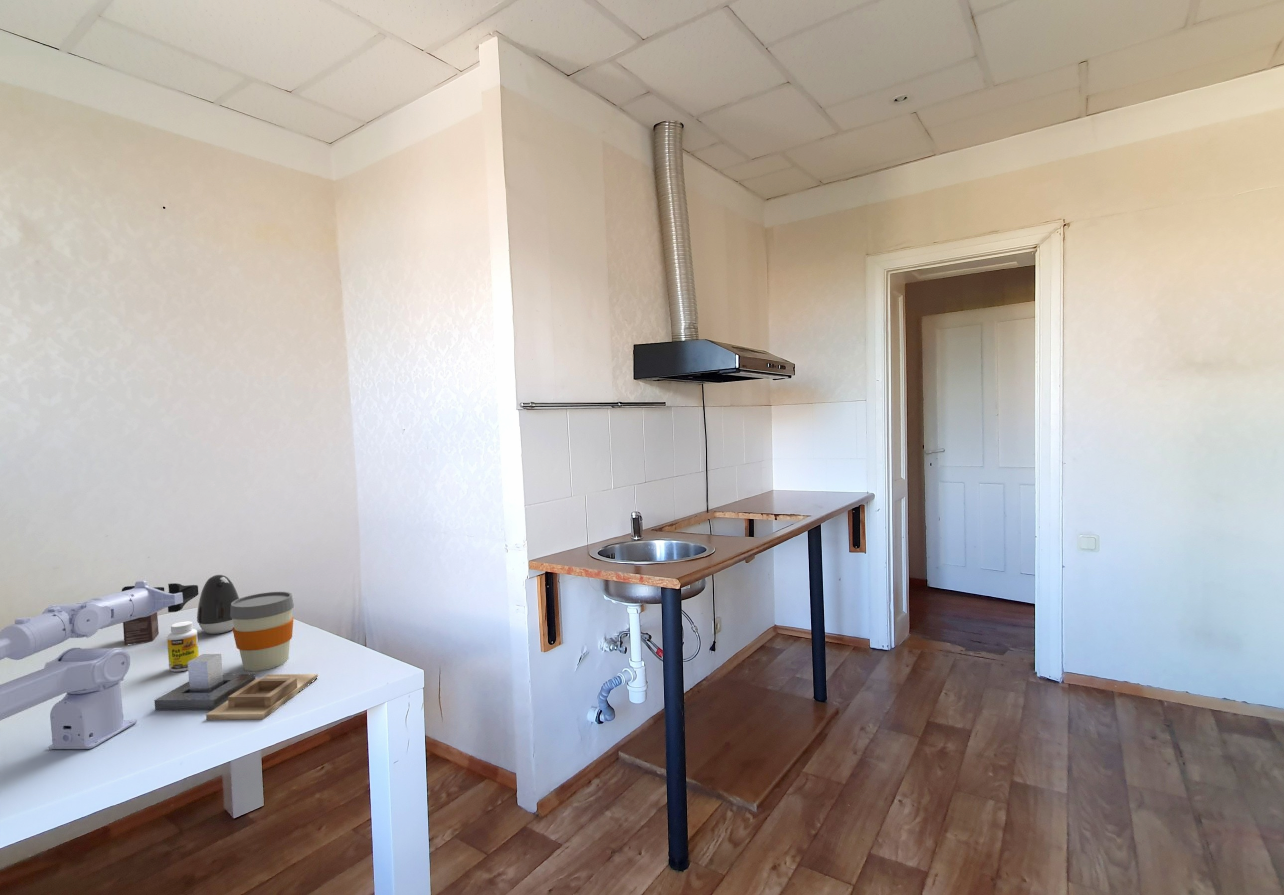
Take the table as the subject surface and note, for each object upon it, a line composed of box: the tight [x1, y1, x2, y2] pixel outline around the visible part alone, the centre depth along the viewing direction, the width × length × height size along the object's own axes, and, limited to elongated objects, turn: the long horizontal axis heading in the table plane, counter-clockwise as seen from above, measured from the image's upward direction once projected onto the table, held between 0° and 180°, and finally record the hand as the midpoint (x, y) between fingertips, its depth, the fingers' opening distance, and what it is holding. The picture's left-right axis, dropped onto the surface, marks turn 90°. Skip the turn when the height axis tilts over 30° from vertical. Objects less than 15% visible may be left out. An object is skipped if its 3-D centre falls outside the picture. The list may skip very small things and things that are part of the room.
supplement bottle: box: [166, 620, 200, 673], centre depth 144 cm, size 6×6×10 cm
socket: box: [154, 673, 256, 711], centre depth 128 cm, size 12×12×2 cm
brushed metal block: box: [187, 653, 224, 693], centre depth 128 cm, size 4×4×8 cm
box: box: [122, 612, 160, 646], centre depth 164 cm, size 6×6×7 cm
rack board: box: [205, 673, 319, 721], centre depth 126 cm, size 18×11×3 cm, turn 177°
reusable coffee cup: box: [230, 591, 295, 672], centre depth 145 cm, size 13×13×15 cm
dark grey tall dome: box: [196, 574, 240, 635], centre depth 169 cm, size 10×10×15 cm
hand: (179, 591), depth 132 cm, fingers open, 7 cm apart
